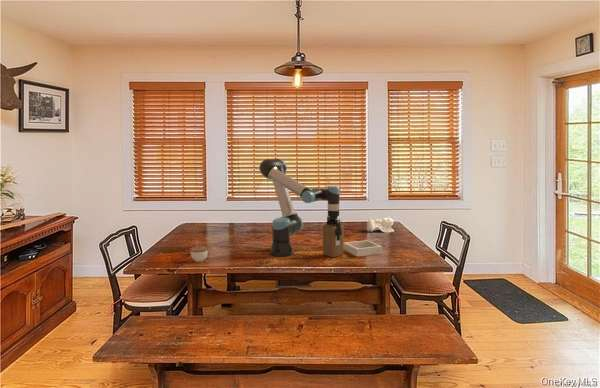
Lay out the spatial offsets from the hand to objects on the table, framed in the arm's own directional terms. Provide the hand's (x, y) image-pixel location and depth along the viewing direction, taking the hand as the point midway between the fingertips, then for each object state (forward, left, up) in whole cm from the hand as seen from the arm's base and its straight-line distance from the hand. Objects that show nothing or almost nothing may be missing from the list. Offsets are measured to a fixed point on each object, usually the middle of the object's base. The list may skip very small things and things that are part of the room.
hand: (333, 243), depth 262 cm
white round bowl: (-22, -83, -8) cm, 86 cm away
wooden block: (0, 0, -8) cm, 8 cm away
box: (0, +22, -8) cm, 23 cm away
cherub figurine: (-52, +71, -8) cm, 88 cm away
